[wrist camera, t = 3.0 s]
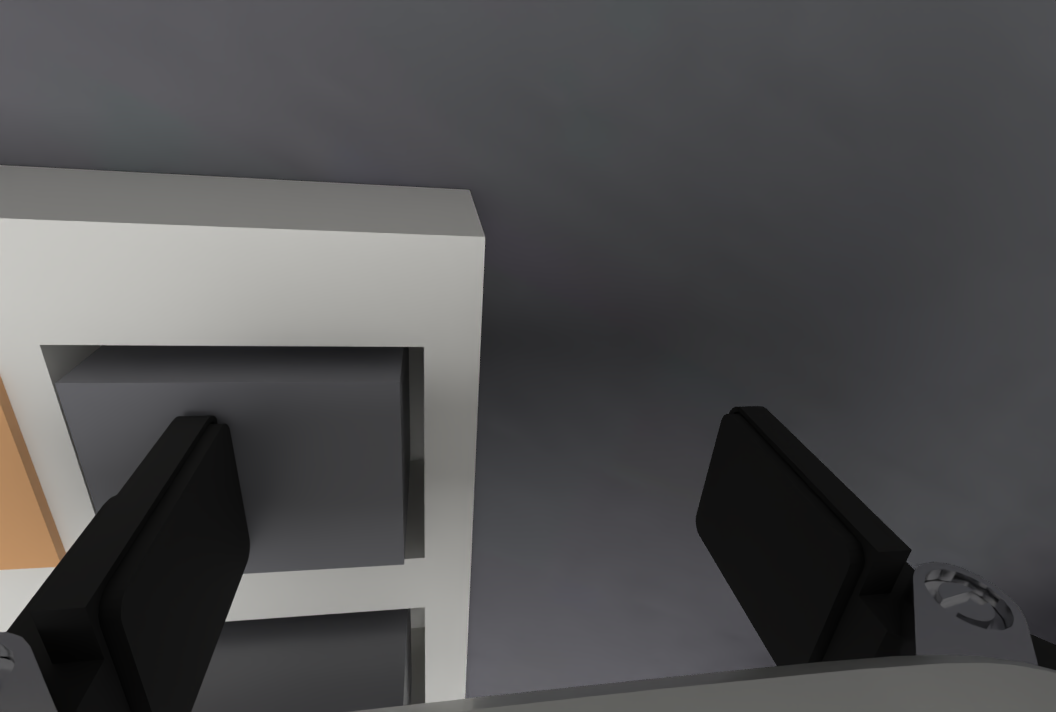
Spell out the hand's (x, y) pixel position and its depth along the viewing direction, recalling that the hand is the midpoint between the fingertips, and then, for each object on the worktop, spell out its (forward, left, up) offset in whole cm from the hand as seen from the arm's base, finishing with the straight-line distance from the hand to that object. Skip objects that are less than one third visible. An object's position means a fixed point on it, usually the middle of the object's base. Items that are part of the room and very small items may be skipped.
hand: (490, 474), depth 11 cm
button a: (+4, 0, -4) cm, 6 cm away
